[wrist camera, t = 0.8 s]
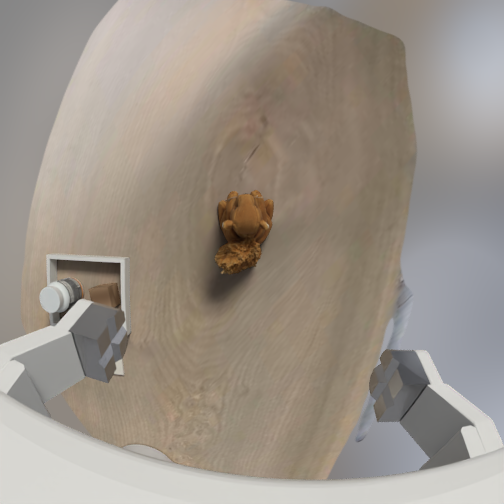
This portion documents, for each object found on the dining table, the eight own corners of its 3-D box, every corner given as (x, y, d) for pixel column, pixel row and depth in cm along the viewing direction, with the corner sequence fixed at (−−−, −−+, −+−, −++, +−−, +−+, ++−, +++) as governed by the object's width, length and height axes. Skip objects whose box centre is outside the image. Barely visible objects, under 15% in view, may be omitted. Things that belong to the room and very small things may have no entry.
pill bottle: (66, 306, 53) (42, 318, 43) (59, 279, 52) (33, 287, 43) (88, 301, 53) (65, 313, 43) (80, 273, 53) (56, 281, 43)
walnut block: (120, 302, 54) (112, 308, 49) (103, 304, 54) (93, 310, 49) (117, 282, 54) (107, 286, 49) (99, 284, 53) (88, 289, 48)
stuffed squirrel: (273, 197, 56) (289, 186, 43) (266, 273, 56) (279, 285, 43) (220, 191, 55) (219, 178, 42) (212, 268, 55) (209, 279, 42)
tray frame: (131, 331, 54) (126, 336, 51) (57, 322, 53) (50, 326, 50) (129, 257, 54) (124, 258, 51) (53, 253, 52) (46, 254, 49)
